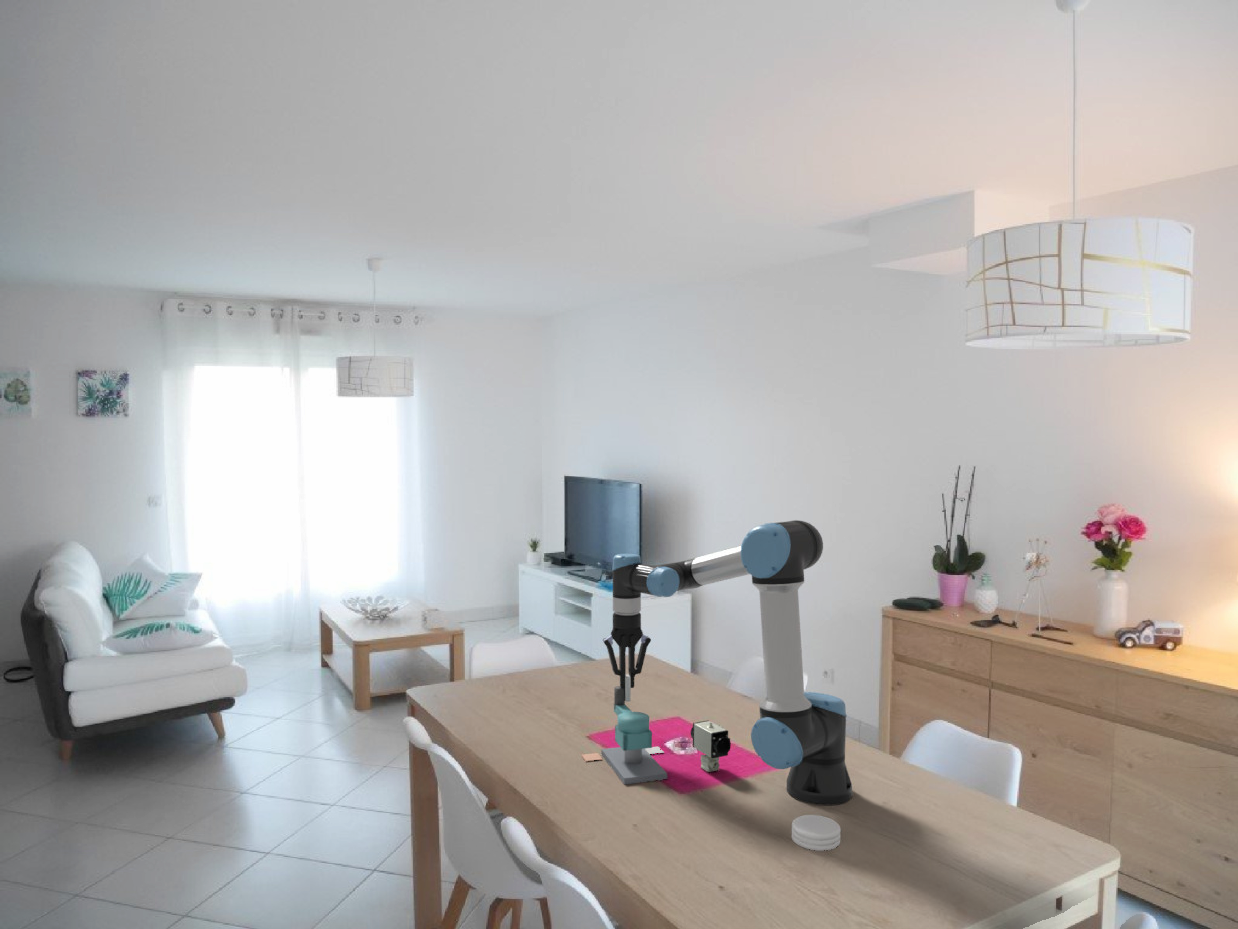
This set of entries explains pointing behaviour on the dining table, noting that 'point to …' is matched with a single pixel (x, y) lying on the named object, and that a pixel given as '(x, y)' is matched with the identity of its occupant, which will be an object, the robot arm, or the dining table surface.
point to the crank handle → (630, 725)
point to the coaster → (816, 832)
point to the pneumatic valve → (710, 743)
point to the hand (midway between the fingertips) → (627, 700)
